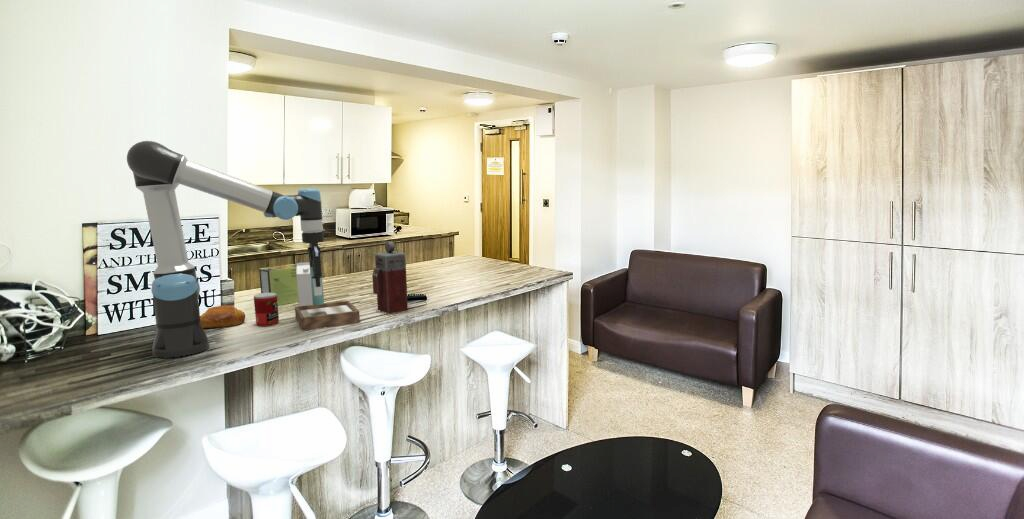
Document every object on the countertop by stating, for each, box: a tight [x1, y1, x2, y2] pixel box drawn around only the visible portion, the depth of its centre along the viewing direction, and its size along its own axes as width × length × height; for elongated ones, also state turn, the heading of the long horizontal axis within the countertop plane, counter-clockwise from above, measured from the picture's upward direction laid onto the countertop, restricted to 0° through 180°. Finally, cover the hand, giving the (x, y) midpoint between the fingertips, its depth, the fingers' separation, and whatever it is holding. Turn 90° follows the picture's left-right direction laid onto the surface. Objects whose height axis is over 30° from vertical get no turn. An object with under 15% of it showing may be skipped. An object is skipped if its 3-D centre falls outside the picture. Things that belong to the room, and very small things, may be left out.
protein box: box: [258, 263, 299, 306], centre depth 230 cm, size 10×15×16 cm
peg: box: [310, 267, 325, 305], centre depth 196 cm, size 4×4×14 cm
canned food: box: [253, 292, 280, 327], centre depth 195 cm, size 8×8×11 cm
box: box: [294, 300, 361, 331], centre depth 199 cm, size 20×20×4 cm
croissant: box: [200, 304, 246, 329], centre depth 196 cm, size 14×16×8 cm
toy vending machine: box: [372, 241, 409, 314], centre depth 211 cm, size 9×11×28 cm
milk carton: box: [296, 261, 313, 306], centre depth 219 cm, size 7×7×19 cm
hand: (317, 293), depth 196 cm, fingers closed on peg, 4 cm apart
